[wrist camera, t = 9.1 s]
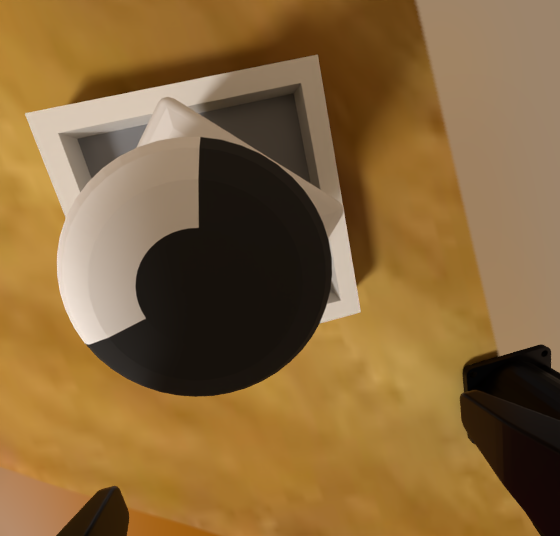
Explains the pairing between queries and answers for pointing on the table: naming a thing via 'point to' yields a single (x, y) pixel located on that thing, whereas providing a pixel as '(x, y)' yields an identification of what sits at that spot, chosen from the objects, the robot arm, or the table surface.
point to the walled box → (226, 114)
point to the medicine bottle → (196, 259)
